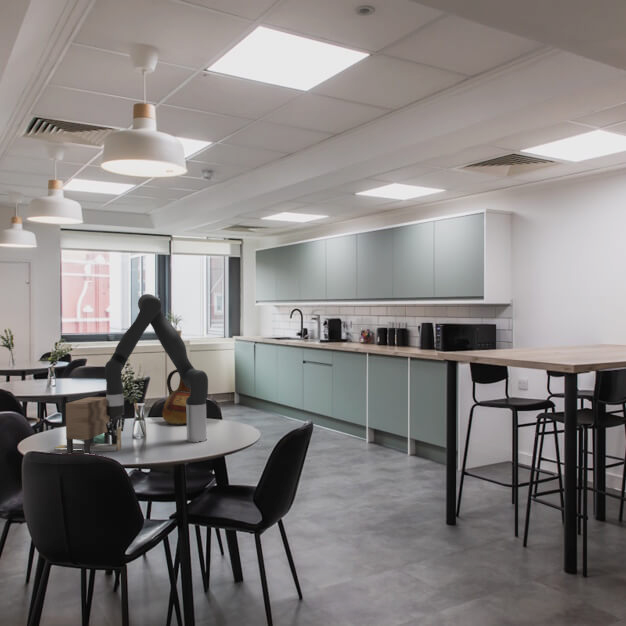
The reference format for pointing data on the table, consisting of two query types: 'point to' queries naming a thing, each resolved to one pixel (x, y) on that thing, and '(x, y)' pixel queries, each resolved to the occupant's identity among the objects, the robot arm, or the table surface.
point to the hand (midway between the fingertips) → (116, 442)
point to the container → (99, 439)
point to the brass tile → (60, 446)
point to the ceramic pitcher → (176, 402)
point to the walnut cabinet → (86, 421)
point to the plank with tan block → (102, 446)
